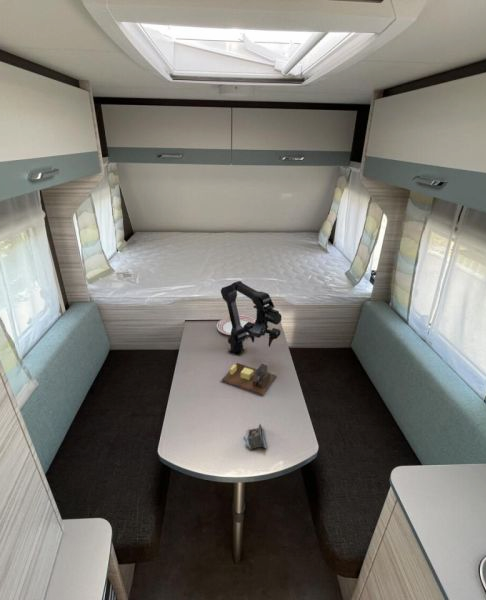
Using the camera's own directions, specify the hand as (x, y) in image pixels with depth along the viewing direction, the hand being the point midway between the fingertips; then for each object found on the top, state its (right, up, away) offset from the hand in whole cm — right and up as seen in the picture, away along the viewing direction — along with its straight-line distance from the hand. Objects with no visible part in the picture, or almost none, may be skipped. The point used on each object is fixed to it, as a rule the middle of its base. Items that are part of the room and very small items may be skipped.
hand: (261, 344), depth 170 cm
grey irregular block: (-5, -32, -41) cm, 52 cm away
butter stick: (-7, -15, -6) cm, 18 cm away
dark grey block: (0, -17, -10) cm, 19 cm away
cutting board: (-7, -17, -6) cm, 19 cm away
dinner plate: (-12, +4, +43) cm, 44 cm away
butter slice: (-14, -14, -3) cm, 20 cm away
